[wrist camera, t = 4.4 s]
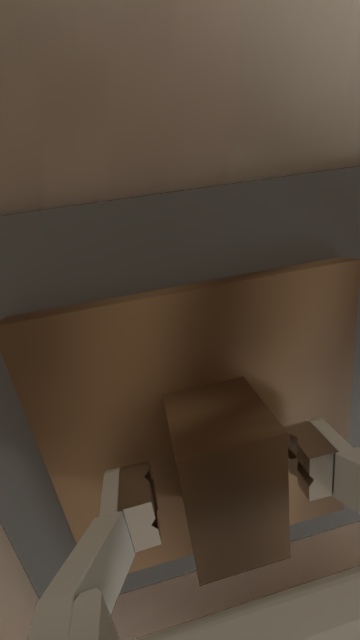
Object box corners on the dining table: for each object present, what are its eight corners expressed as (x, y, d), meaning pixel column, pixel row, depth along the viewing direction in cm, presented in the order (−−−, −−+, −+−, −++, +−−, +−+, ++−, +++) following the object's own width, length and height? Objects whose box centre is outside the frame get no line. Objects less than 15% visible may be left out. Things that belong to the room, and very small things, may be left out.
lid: (339, 256, 10) (459, 270, 7) (329, 490, 14) (401, 583, 10) (5, 317, 9) (-85, 378, 5) (95, 558, 13) (80, 693, 9)
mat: (404, 161, 10) (420, 157, 10) (367, 505, 16) (376, 515, 16) (-128, 236, 8) (-147, 235, 8) (51, 601, 14) (48, 616, 13)
